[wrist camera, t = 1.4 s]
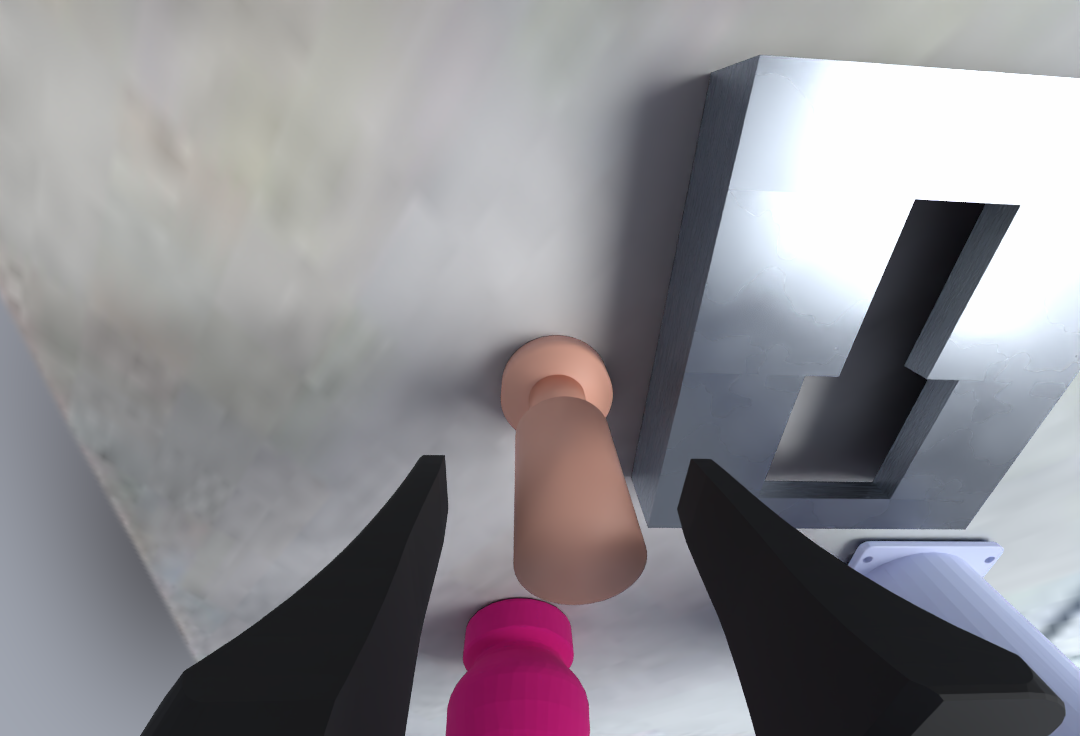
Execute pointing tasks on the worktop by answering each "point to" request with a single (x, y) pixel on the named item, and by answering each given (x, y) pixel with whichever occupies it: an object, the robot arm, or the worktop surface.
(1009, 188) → the keyhole plate
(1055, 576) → the worktop surface
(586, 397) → the peg
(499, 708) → the pepper mill
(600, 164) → the worktop surface
